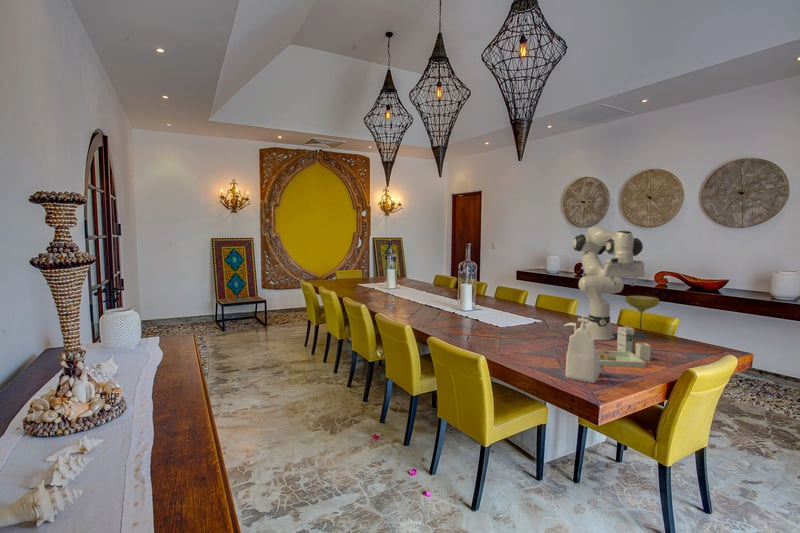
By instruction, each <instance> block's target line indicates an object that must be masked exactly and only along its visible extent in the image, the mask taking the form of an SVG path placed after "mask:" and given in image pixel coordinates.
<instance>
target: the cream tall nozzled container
mask: <svg viewBox="0 0 800 533" xmlns="http://www.w3.org/2000/svg"><path fill="white" fill-rule="evenodd" d="M580 322H581V323H580ZM577 323H580V327H579V328H577ZM577 323H575V322H568V323H566V324H565V325H563V327H566V326H572V327H574V328H573V329H574V330H573V331H574V333H573V334H572V335H570V336H569V340H568V341H569V342H568V347H567V352H566V359H565V360H566V362H565V363H566V364H565V378H566V379H568V378H569V380H574V381H580V382H584V383H589V384H595V383H596V382H597V381H598V379H599V378H600V367H601V366H600V355H599V354H598V353H599V351H598V349H596V346H595V345H596V344H595V343H596V342H595V341H596V340H594V339H593V338H591V336H590V334H589V331H588V330H587V329H585V323H588V318H587V319H586V315H584V314H582V315H581V318H580V317H578V318H577Z"/></svg>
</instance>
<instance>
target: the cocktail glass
mask: <svg viewBox="0 0 800 533" xmlns="http://www.w3.org/2000/svg"><path fill="white" fill-rule="evenodd" d="M625 302H626V304H628V305H629V306H631V307H632V308H634V309H636V310H637V311H638V312H639V313H640V321H639V330H638V332H634V338H641V339H647V338H648V337H649V338H650V337H651V335H649V334H646V333H642V319H643V317H642V316H643V313H644V312H646V311H647V310H649V309H651V308H655V307H656V306H658V305H659V303H660V298H659V297H658V296H654V295H648V294H626V296H625Z"/></svg>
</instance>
